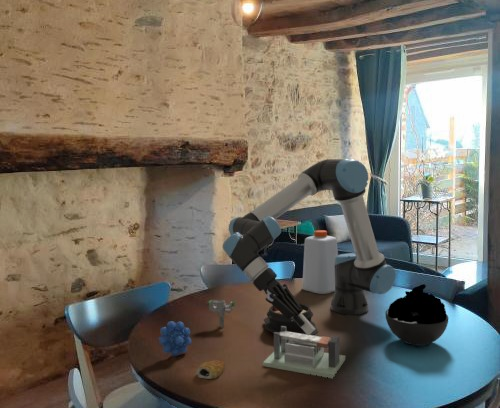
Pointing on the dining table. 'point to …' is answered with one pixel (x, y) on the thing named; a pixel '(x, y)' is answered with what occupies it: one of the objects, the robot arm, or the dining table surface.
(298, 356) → the heat sink
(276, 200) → the robot arm
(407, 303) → the coal bowl
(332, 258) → the plastic bottle
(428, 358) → the dining table surface
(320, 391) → the dining table surface
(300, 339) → the retention strap
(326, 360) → the circuit board
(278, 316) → the casserole
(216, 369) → the pastry
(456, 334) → the dining table surface
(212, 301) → the mechanical component
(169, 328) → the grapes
